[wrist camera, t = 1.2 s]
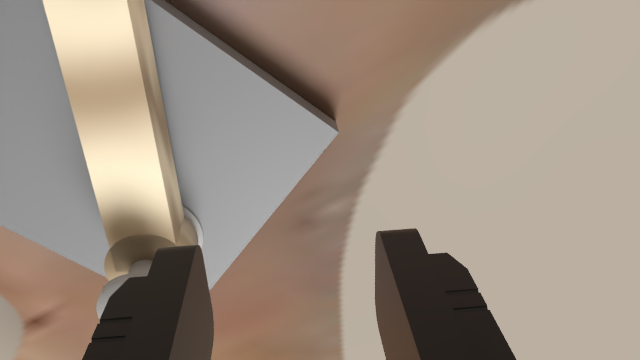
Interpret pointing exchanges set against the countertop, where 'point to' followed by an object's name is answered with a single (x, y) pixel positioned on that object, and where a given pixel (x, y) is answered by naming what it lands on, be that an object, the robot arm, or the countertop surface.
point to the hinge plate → (184, 132)
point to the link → (121, 126)
